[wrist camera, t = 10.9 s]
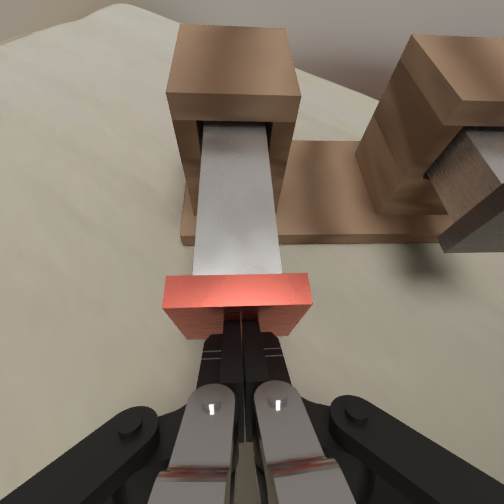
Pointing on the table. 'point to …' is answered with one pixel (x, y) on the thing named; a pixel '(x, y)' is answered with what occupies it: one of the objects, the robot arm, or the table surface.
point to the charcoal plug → (472, 190)
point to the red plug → (236, 243)
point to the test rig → (336, 152)
